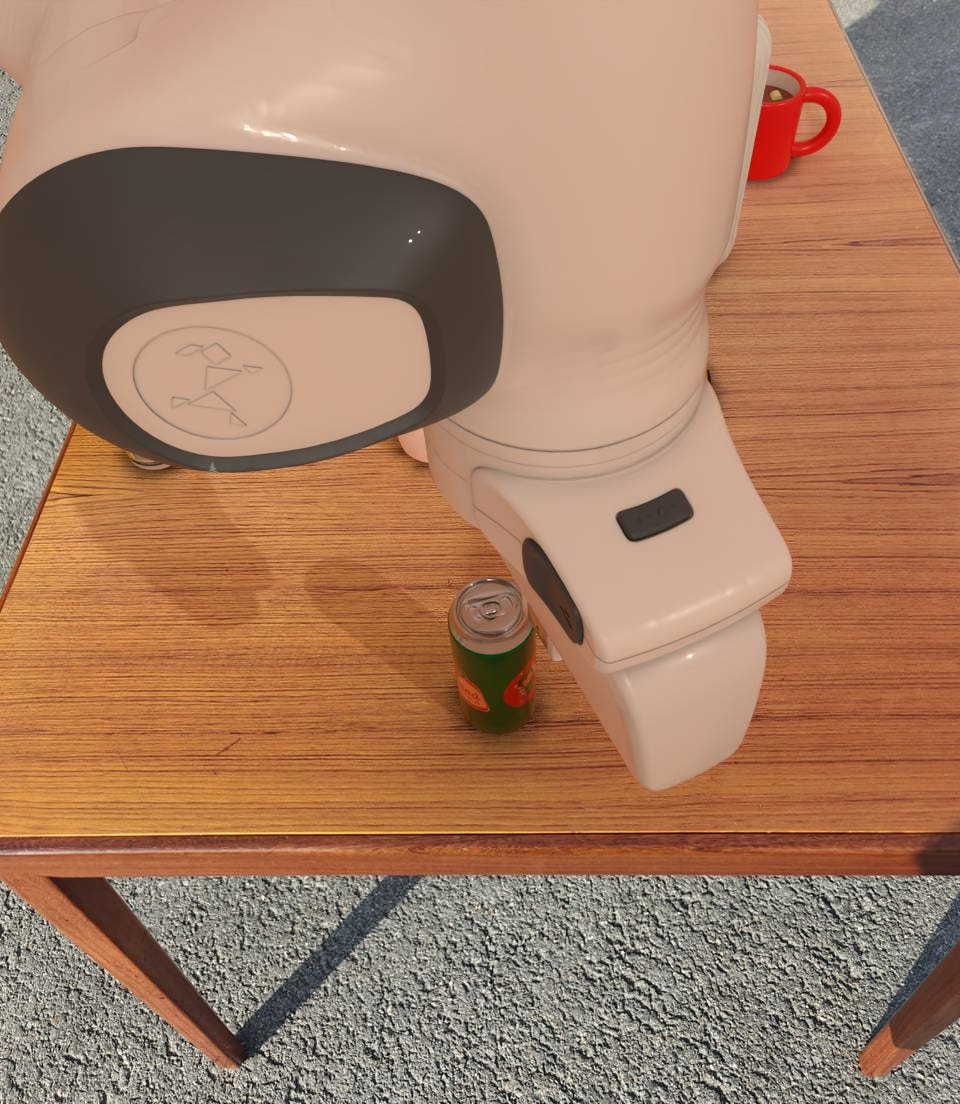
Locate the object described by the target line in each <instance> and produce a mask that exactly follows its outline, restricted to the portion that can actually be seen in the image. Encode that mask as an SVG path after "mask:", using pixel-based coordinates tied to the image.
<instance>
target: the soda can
mask: <svg viewBox="0 0 960 1104" xmlns="http://www.w3.org/2000/svg"><path fill="white" fill-rule="evenodd" d="M446 621H447V629H448V635H449V641H450V648H451V654H452V660H453V666H454V667H453V668H454V672H455V678H456V686H457V691H458V698H459V704H460V710H461V713H462V715H463V716H464V719H465V720H466V721H467V723H468V724H470V725H471V727H473V728H475V729H476V730H478V731H479V732H481V733H484V734H488V735H494V736H503V735H508V734H512V733H514V732H517V731H518V730H521V728H524V726H525V725H526V724H527V723H529V721H530V720H531V719H532V717H533V715H534V713H535V711H536V707H537V638H536V637H537V633H536V631H535V630H534V628H533V626H532V625H531V623H530V622H529V620H528V618H527V616H526V615H525V613H524V611H523V605H522V592H521V591H520V588H519V586H518V585H517V583H516V582H513V581H511V580H509V579H507V578H503V577H499V576H485V577H480V578H477V579H474V580H471V581H470V582H468V583H467V584H466V585H464V586H463V587H462V588H461V589H460V590H459V591H458V592H457V593H456V596H455V598H454V599H453V601H452V603H451V605H450V607H449V609H448V613H447V620H446Z"/></svg>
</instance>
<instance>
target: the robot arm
mask: <svg viewBox="0 0 960 1104" xmlns="http://www.w3.org/2000/svg"><path fill="white" fill-rule="evenodd" d="M758 13H759V0H0V68H1V69H2V70H3V71H4V72H5V73H6V74H8V76H9V77H11V78H12V79H13V80H14V81H15V82H16V83H17V84H18V85H19V87H21V88H22V92H21V94H20V96H19V98H18V100H17V104H16V106H15V110H14V112H13V115H12V118H11V122H10V123H9V127H8V131H7V136H6V140H5V143H4V149H3V153H2V157H1V161H0V345H1V347H2V348H3V350H4V351H5V353H6V354H7V356H8V358H9V359H10V360H11V361H12V363H13V365H15V367H16V368H17V369H18V370H19V371H20V373H21V374H22V375H23V376H24V378H25V379H26V380H27V381H28V382H29V383H30V385H31V386H32V387H33V388H34V389H35V390H36V391H38V393H39V394H40V395H42V397H43V398H44V399H46V401H48V402H49V403H50V404H51V405H53V406H54V407H55V408H56V409H57V410H58V411H60V412H61V413H63V414H64V415H65V416H66V417H67V418H68V419H70V420H71V421H72V422H74V423H75V424H77V425H79V426H80V427H81V428H83V429H85V430H86V431H88V432H89V433H92V434H93V435H95V436H97V437H98V438H100V439H102V440H103V441H106V442H107V443H109V444H111V445H114V446H115V447H117V448H120V449H122V450H124V451H125V450H126V451H128V452H131V453H133V454H136V455H138V456H141V457H144V458H146V459H149V460H152V461H156V462H159V463H163V464H166V465H170V466H169V467H175V468H180V469H183V470H188V471H189V470H190V471H196V472H206V473H224V474H225V473H227V474H235V473H250V472H261V471H271V470H280V469H286V468H295V467H300V466H305V465H311V464H315V463H319V462H323V461H327V460H331V459H335V458H338V457H342V456H344V455H348V454H352V453H355V452H357V451H360V450H362V449H366V448H368V447H371V446H373V445H377V444H380V443H383V442H385V441H388V440H392V439H394V438H398V437H397V436H400V435H403V434H406V433H409V432H412V431H415V430H418V429H421V428H423V432H424V438H425V445H426V451H427V457H428V463H427V464H428V469H429V472H430V475H431V478H432V481H433V483H434V485H435V487H436V489H437V491H438V492H439V494H440V496H441V497H442V499H443V500H444V501H445V502H446V503H447V505H448V506H449V507H450V508H451V509H452V510H453V511H454V512H455V513H456V514H457V515H458V516H459V517H461V518H462V519H463V520H464V521H466V522H467V523H468V524H470V525H471V526H473V527H474V528H475V529H477V530H479V531H481V533H482V534H483V536H484V537H485V538H486V539H487V541H488V542H489V543H490V544H491V545H492V547H493V548H494V549H495V550H496V551H497V553H498V555H499V557H500V558H501V560H502V562H503V564H504V565H505V566H506V568H507V570H508V572H509V573H510V575H511V576H512V579H513V580H514V581H515V584H516V585H517V586H518V587H519V588H520V591H521V592H522V605H523V611H524V613H525V615H526V616H527V618H528V620H529V622H530V623H531V625H532V626H533V628H534V630H535V631H536V635H537V636H538V637H539V639H540V641H541V643H542V645H543V647H544V648H545V650H546V652H547V653H548V655H549V657H550V658H551V660H552V661H553V662H561V661H563V663H564V664H565V667H566V668H567V670H568V671H569V672H570V675H571V676H572V677H573V679H574V681H575V682H576V684H577V686H578V687H579V689H580V691H581V693H582V694H583V696H584V697H585V699H586V701H587V702H588V704H589V706H590V708H592V711H593V712H594V714H595V716H596V717H597V719H598V721H599V723H600V724H601V726H602V727H603V730H604V731H605V733H606V734H607V736H608V737H609V739H610V741H611V742H612V744H613V746H614V747H615V749H616V750H617V752H618V754H619V756H620V758H621V759H622V760H623V763H624V765H625V766H626V768H627V769H628V771H629V773H630V775H631V776H632V777H633V778H634V780H635V781H636V782H637V783H639V785H641V786H642V787H644V788H645V789H647V790H649V791H652V792H661V791H663V790H667V789H671V788H673V787H675V786H677V785H679V784H682V783H684V782H686V781H688V780H690V779H692V778H695V777H697V776H698V775H700V774H702V773H704V772H706V771H708V770H710V769H712V768H713V767H716V766H717V765H719V764H720V763H722V762H723V761H725V760H726V759H729V757H731V756H732V755H733V754H734V753H735V752H737V750H738V749H739V748H740V746H741V744H742V742H743V740H744V738H745V736H746V734H747V731H748V730H749V726H750V724H751V721H752V718H753V714H754V712H755V711H756V707H757V703H758V699H759V696H760V692H761V689H762V685H763V681H764V677H765V671H766V665H767V657H768V655H767V654H768V643H767V642H768V641H767V633H766V632H767V631H766V629H765V622H764V619H763V617H762V613H761V609H760V608H762V607H763V606H765V605H766V604H768V603H770V602H771V601H773V600H774V599H776V598H777V597H779V596H780V595H782V594H783V593H784V592H785V591H786V589H787V588H788V586H789V584H790V580H791V579H792V574H793V560H792V554H791V552H790V549H789V546H788V544H787V542H786V540H785V538H784V537H783V535H782V533H781V532H780V530H779V528H778V526H777V524H776V522H775V521H774V519H773V518H772V516H771V514H770V512H769V510H768V509H767V507H766V506H765V504H764V502H763V500H762V498H761V496H760V495H759V493H758V490H757V489H756V487H755V485H754V484H753V481H752V480H751V478H750V476H749V474H748V471H747V469H746V468H745V466H744V463H743V461H742V459H741V457H740V455H739V453H738V451H737V449H736V446H735V443H734V441H733V439H732V436H731V433H730V431H729V428H728V425H727V422H726V420H725V416H724V413H723V410H722V407H721V404H720V401H719V398H718V395H717V393H716V392H715V389H714V388H713V385H712V383H711V384H710V383H709V381H708V380H706V379H704V377H705V373H706V368H707V367H708V361H709V355H710V342H711V341H710V340H711V331H710V322H709V315H708V311H707V307H706V301H705V300H706V298H705V297H706V290H707V287H708V284H709V282H710V281H711V278H712V276H713V275H714V273H715V271H716V269H717V268H718V267H717V266H718V264H719V263H720V261H721V258H722V256H723V254H724V251H725V249H726V246H727V244H728V241H729V238H730V233H731V229H732V225H733V220H734V215H735V209H736V203H737V197H738V191H739V185H740V180H741V174H742V167H743V160H744V153H745V146H746V139H747V131H748V123H749V115H750V107H751V99H752V89H753V79H754V68H755V58H756V42H757V26H758Z"/></svg>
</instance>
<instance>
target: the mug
mask: <svg viewBox="0 0 960 1104" xmlns="http://www.w3.org/2000/svg"><path fill="white" fill-rule="evenodd" d="M804 104H816V105H819V106H820V107H822V109H823V110H824V112H825V116H826V118H825V122H824V125H823V127H822V128H821V130H819V132H818V133H816V135H814V136H812V137H811V138H809V139H807V140H803V141H796V136H797V131H798V128H799V123H800V120H801V115H802V111H803V107H804ZM842 113H843V112H842V107H841V103H840V101H839V100H838V98H837V96H835V95H834V94H833V93H832V92H831V91H829V90H828V89H826V88H823V87H820V86H814V85H813V86H812V85H811V86H807V83H806V81H805V79H804V78H803V77H802V75H800V74H799V73H797V72H796V71H794V70H792V69H790V68H788V67H784V66H779V65H774V64H769V69H768V74H767V79H766V84H765V90H764V95H763V100H762V105H761V110H760V115H759V120H758V126H757V131H756V136H755V141H754V146H753V151H752V156H751V162H750V167H749V172H748V177H747V181H762V180H767V179H771V178H774V177H775V178H776V177H777V176H779V175H781V174H782V173H784V172H786V170H787V169H788V168H789V165H790V162H791V158H801V157H807V156H810V155H813V154H815V153H817V152H819V151H820V150H822V149H823V148H825V147H826V146H827V145H829V144H830V142H831V141H832V140H833V139H834V137H835V136H836V134H837V133H838V130H839V128H840V125H841V122H842Z"/></svg>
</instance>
